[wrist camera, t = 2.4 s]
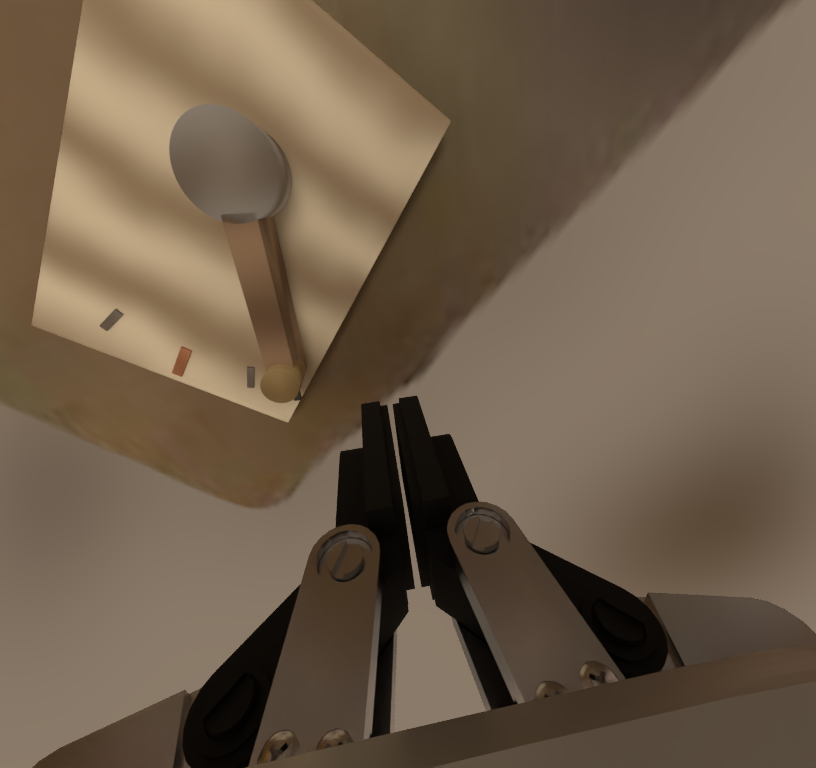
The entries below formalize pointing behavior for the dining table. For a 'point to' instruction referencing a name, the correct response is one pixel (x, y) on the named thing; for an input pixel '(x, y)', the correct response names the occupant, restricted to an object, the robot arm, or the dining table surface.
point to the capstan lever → (246, 225)
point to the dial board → (184, 222)
